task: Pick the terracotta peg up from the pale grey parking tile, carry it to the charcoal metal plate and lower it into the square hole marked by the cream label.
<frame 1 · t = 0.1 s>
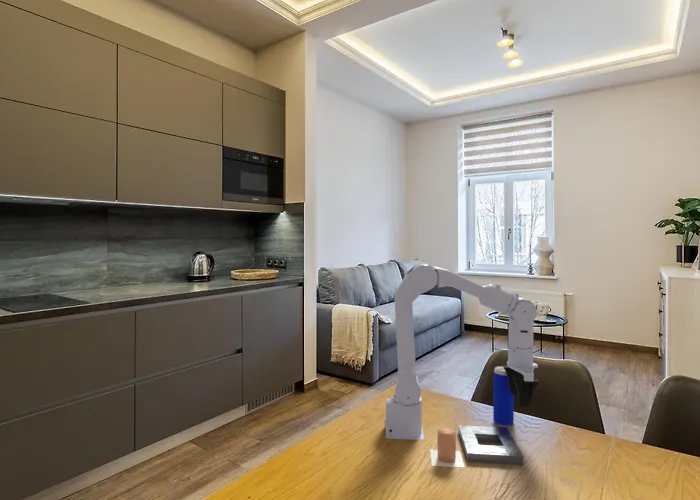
hand: (519, 400, 105), 10 cm above the table, tool pointing down, fingers open, 7 cm apart
hole plate: (488, 449, 100), on the table
peg: (446, 458, 95), point 1 cm above the table, touching parking tile
beverage can: (503, 424, 114), on the table
parking tile: (446, 460, 95), on the table
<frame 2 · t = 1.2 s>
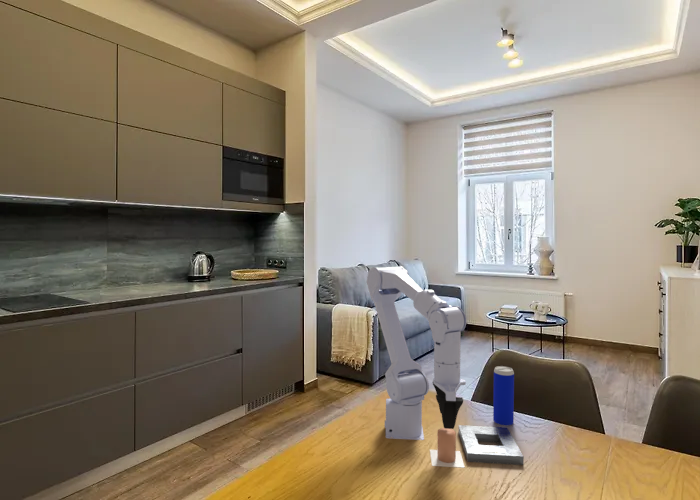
hand: (446, 420, 95), 9 cm above the table, tool pointing down, fingers open, 7 cm apart
nothing on the table moved.
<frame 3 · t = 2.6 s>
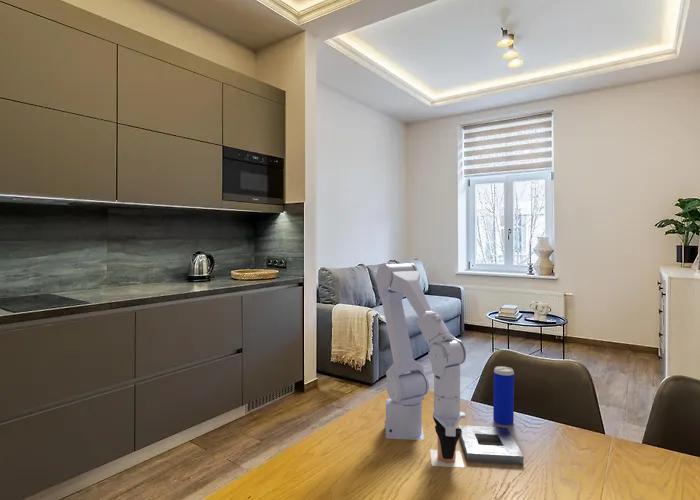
hand: (446, 452, 95), 2 cm above the table, tool pointing down, fingers closed on peg, 4 cm apart
peg: (446, 458, 95), point 1 cm above the table, touching gripper, parking tile
everything else where it was.
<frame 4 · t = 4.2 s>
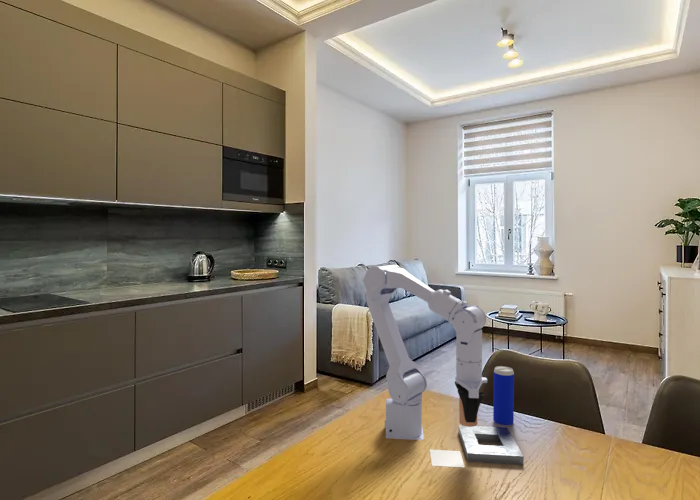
hand: (468, 417, 97), 9 cm above the table, tool pointing down, fingers closed on peg, 4 cm apart
peg: (468, 422, 97), point 8 cm above the table, touching gripper
everything else where it was.
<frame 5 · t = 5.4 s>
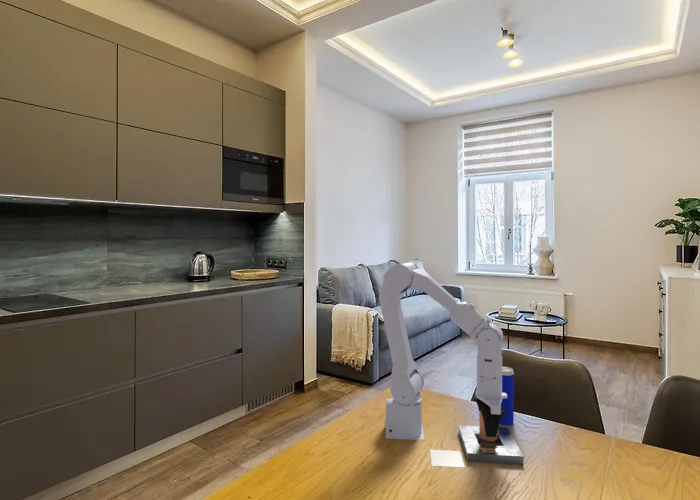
hand: (488, 431, 100), 4 cm above the table, tool pointing down, fingers closed on peg, 4 cm apart
peg: (488, 437, 100), point 3 cm above the table, touching gripper
everything else where it was.
when the fingers open (3 cm above the table, at t = 6.1 s): peg drops 2 cm, resting in hole plate.
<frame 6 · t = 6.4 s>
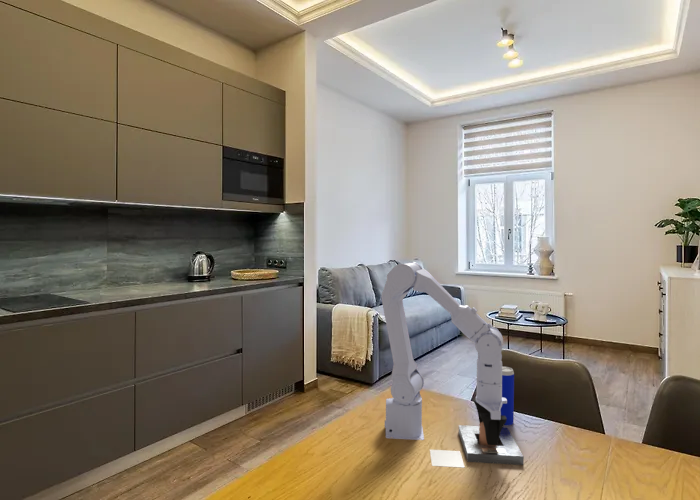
hand: (488, 436, 100), 3 cm above the table, tool pointing down, fingers open, 7 cm apart
peg: (488, 450, 100), resting in hole plate
everything else where it was.
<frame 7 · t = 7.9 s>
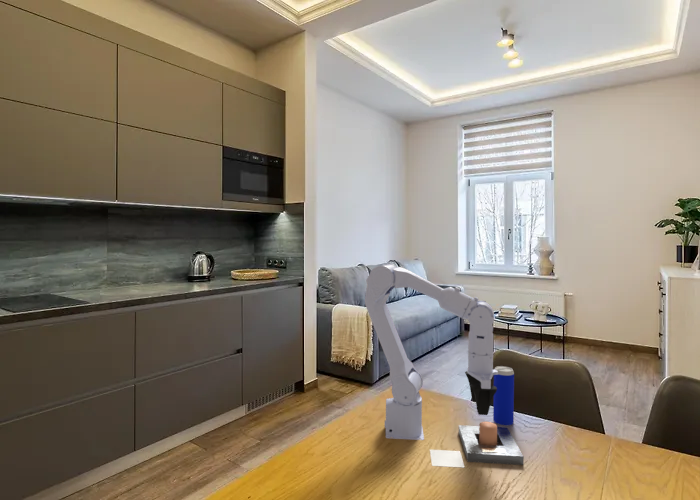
hand: (479, 407, 102), 9 cm above the table, tool pointing down, fingers open, 7 cm apart
nothing on the table moved.
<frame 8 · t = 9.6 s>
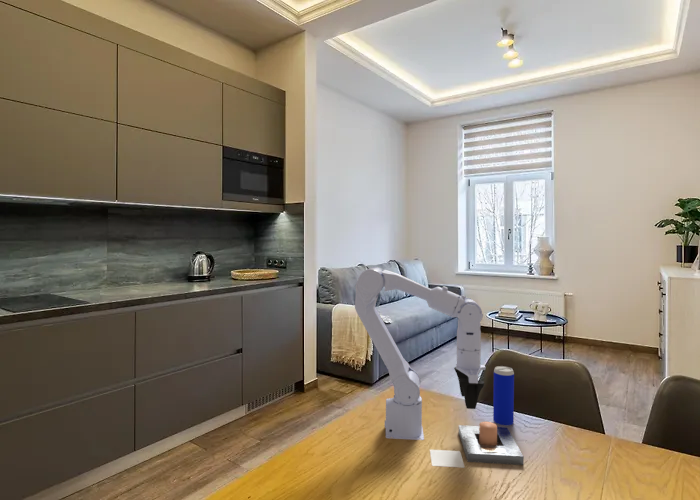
hand: (468, 401, 105), 9 cm above the table, tool pointing down, fingers open, 7 cm apart
nothing on the table moved.
at the end: peg 0.1 cm off-centre on the hole plate, point 0.0 cm above the hole plate's base; peg tilted 0°; the gripper is holding nothing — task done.
